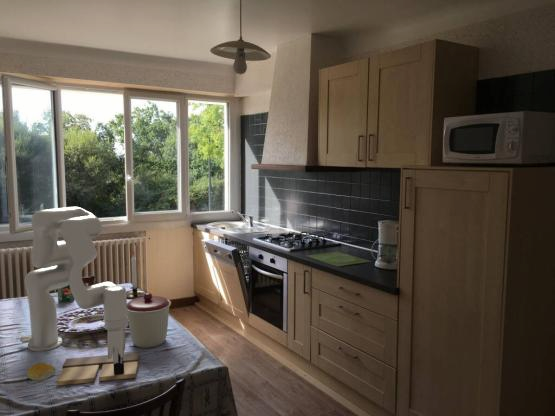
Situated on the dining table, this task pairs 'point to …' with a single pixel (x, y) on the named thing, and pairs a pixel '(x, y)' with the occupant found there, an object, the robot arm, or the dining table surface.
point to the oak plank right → (108, 374)
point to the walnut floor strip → (98, 360)
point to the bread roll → (40, 371)
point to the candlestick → (134, 284)
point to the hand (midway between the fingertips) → (119, 373)
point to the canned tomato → (65, 295)
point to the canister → (148, 320)
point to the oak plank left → (77, 375)
